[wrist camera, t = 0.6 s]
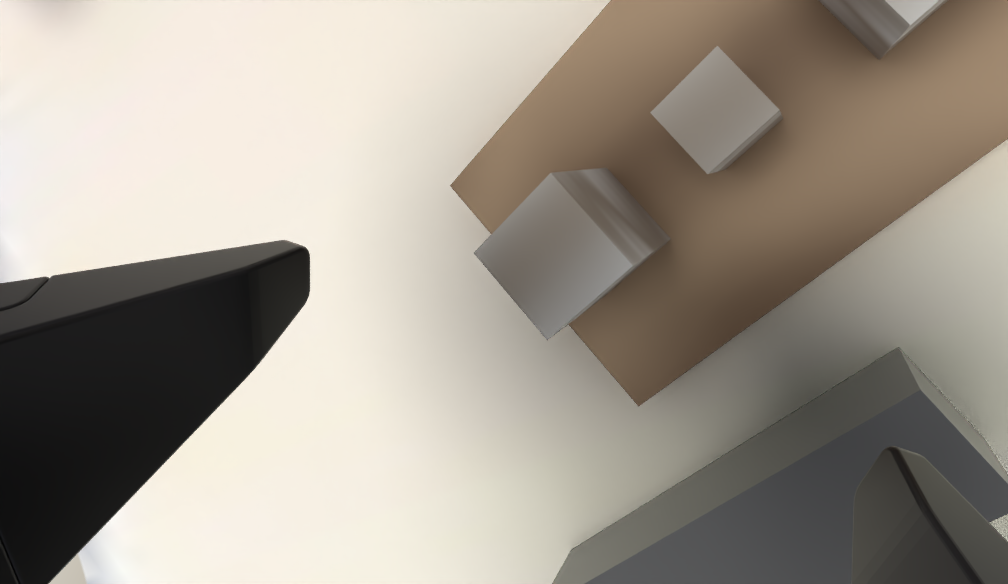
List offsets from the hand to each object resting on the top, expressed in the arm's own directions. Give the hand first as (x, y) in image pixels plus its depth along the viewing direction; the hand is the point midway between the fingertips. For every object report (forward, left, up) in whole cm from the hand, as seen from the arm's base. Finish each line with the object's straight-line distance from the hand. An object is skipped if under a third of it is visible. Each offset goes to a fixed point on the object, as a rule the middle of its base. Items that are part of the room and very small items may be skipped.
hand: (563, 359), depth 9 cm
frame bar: (-8, +4, -13) cm, 16 cm away
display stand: (+2, -4, -12) cm, 13 cm away
